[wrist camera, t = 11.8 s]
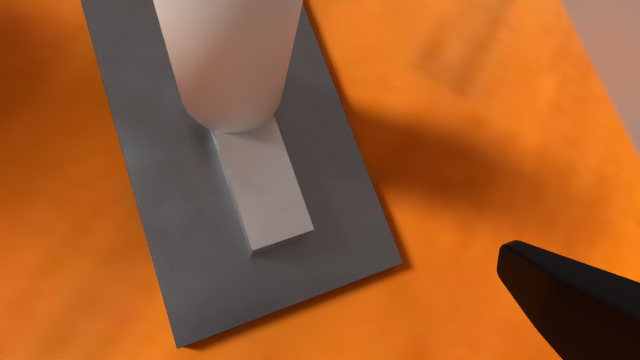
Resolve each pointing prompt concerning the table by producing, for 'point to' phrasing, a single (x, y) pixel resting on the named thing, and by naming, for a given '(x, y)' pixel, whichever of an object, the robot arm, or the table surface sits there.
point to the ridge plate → (202, 194)
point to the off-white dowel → (229, 57)
